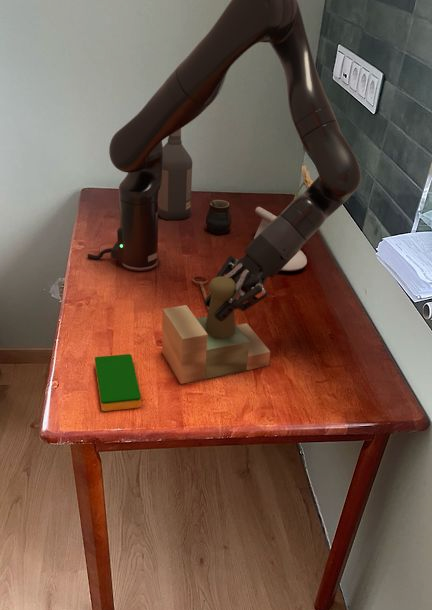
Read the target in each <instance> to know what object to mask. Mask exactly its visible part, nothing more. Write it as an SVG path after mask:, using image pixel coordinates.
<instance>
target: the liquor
mask: <svg viewBox="0 0 432 610" xmlns="http://www.w3.org/2000/svg"><path fill="white" fill-rule="evenodd" d="M192 181H193V159H192V157H191V155H190V154H189V153H188V151H187V149H186V148H185V146H184V145H183V140H182V128H181V129H179V130H178V131H176V132H174V133H173V134H171V135H169V136H168V137H167V142H166V144H164V145H163V168H162V182H161V187H160V189H159V192H158V216H159V217H160V219H163V220H167V221H176V220H177V221H178V220H179V221H180V220H186V219H188V218H189V217H190V215H191V211H192V210H191V209H192V207H191V205H192V183H193V182H192Z"/></svg>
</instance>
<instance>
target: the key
mask: <svg viewBox="0 0 432 610" xmlns="http://www.w3.org/2000/svg"><path fill="white" fill-rule="evenodd" d="M197 280H200V281H197ZM202 280H203V281H202ZM191 281H192V283H194V284H197V285H199V288H200V291H201V293H202V296H203V300H204V301H205V300H206V298H207V297H208V293H207V291H206V288H205V284H208V281H209V280H208V279H207V278H206V277H203V276H194V277H193V278H192V279H191ZM206 308H207V311H208V310H209V307H208V306H206Z"/></svg>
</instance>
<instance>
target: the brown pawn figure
mask: <svg viewBox="0 0 432 610" xmlns="http://www.w3.org/2000/svg"><path fill="white" fill-rule="evenodd" d="M215 277H216V276H215ZM215 277H214V278H212V279H211V281H210V282H209V284H208V293H209V295H211V300H210V305H209V310H208V309H207V315H206V316H207V320H206V326H205V331H206V333H208V334H209V335H211V336H213V337H217V338H226V337H229V336H231V335H233V334H234V333H235V324H236V320H235V310H234V311H233V312H232V313H231V314H230V315H229V316H228V317H227V318H226V319H225V320H223V321H219V320H218V319H216V318H215V317H214V313H215V312H216V311H217V310H218V309H219V308H220V307H221V306H222V305H223V304H224V303H225V302H226V301H227V302H228V299H229V298H230V297H231V296H232V295H233V294H234V288H235V285H236V284H235V282H234V280H232V278H229V277H225V275H223V276H220V277H216V278H215Z"/></svg>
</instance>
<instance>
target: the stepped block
mask: <svg viewBox="0 0 432 610" xmlns="http://www.w3.org/2000/svg"><path fill="white" fill-rule="evenodd" d="M206 320H207V315H205V316H202V317H196V316H195V314H194V313H193V312H192V311H191V309H190V308H189V307H188V305H187V304H184V305H178V306H172V307H171V306H170V307H166V308H162V323H161V325H162V326H161V328H162V329H161V331H162V332H161V333H162V335H161V338H162V339H161V352H162V355H163V357H164V358H165V360H166V362H167V364H168V365H169V367H170V368H171V370H172V371H173V373H174V375H175V377H176V378H177V380H178V382H179V383H180V385H183V384H188V383H192V382H197V381H203V380H206V379H212V378H217V377H221V376H226V375H231V374H236V373H240V372H246V371H249V370H250V371H251V370H254V369H260V368H264V367H269V365H270V357H271V351H270V349H269V348H268V347H267V345H265V343H264V342H263V341H262V339H260V337H259V336H258V335H257V334H256V333H255V331H254V329H252V327H251V326H250V325H249V324H248V323H242V324H236V323H235V333H234V334H233V335H231V336H229V337H226V338H217V337H213V336H211V335H209V334H208V333H206V331H205V326H206Z"/></svg>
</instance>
